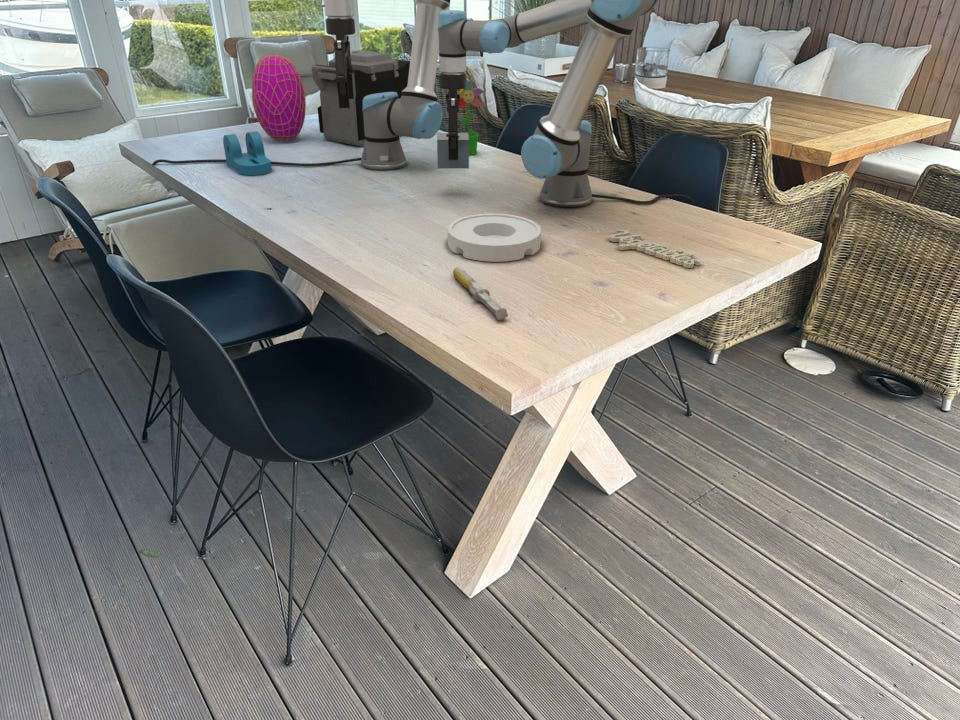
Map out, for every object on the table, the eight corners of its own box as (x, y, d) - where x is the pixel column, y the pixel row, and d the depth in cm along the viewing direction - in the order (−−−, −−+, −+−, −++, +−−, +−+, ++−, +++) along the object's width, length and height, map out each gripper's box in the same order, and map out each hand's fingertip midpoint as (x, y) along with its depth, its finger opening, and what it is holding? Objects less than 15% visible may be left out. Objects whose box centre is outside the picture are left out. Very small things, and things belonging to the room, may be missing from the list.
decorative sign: (595, 237, 174) (620, 228, 179) (594, 240, 174) (619, 231, 180) (683, 268, 157) (708, 257, 162) (683, 272, 157) (707, 261, 163)
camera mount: (227, 164, 233) (221, 132, 227) (257, 160, 238) (252, 129, 233) (244, 176, 220) (239, 143, 215) (276, 172, 225) (271, 139, 220)
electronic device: (380, 124, 291) (375, 47, 275) (420, 131, 280) (417, 51, 264) (314, 140, 265) (305, 55, 250) (356, 148, 254) (349, 60, 239)
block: (468, 160, 207) (468, 132, 202) (468, 168, 199) (468, 139, 195) (437, 160, 206) (437, 132, 202) (437, 168, 199) (437, 139, 194)
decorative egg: (293, 132, 276) (283, 50, 261) (319, 140, 264) (310, 56, 249) (249, 139, 265) (236, 54, 250) (273, 148, 253) (261, 60, 238)
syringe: (449, 274, 155) (449, 263, 153) (465, 272, 156) (464, 260, 154) (490, 323, 135) (491, 310, 133) (508, 319, 136) (508, 307, 134)
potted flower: (461, 156, 246) (461, 82, 233) (452, 151, 252) (451, 78, 239) (485, 153, 249) (486, 80, 237) (475, 148, 255) (475, 77, 243)
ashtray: (450, 227, 182) (450, 212, 180) (538, 229, 181) (539, 214, 179) (444, 260, 162) (444, 244, 160) (542, 262, 161) (543, 246, 159)
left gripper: (330, 13, 189) (337, 95, 200) (319, 21, 168) (327, 112, 178) (357, 14, 190) (363, 95, 200) (350, 21, 168) (357, 111, 179)
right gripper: (439, 67, 199) (440, 146, 210) (438, 78, 180) (440, 165, 192) (465, 67, 199) (465, 146, 211) (467, 79, 181) (466, 165, 192)
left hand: (346, 103), depth 189 cm, fingers open, 13 cm apart
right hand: (453, 155), depth 201 cm, fingers closed on block, 9 cm apart
